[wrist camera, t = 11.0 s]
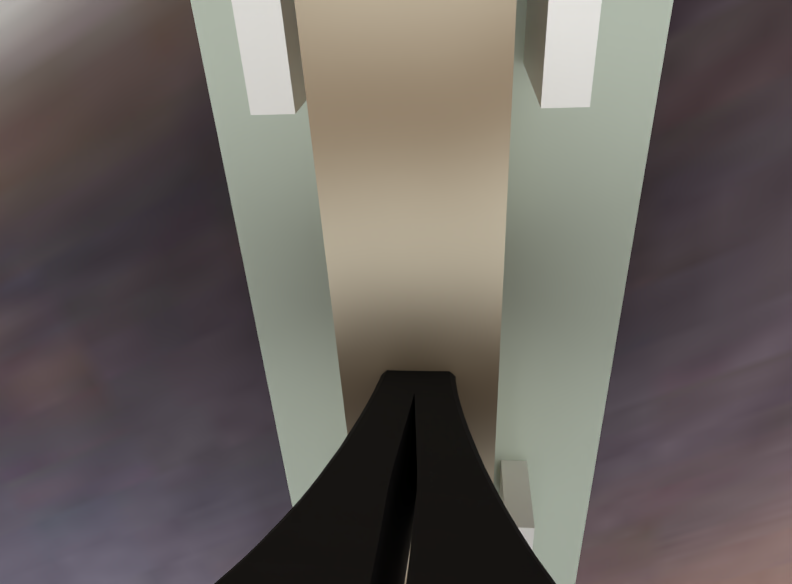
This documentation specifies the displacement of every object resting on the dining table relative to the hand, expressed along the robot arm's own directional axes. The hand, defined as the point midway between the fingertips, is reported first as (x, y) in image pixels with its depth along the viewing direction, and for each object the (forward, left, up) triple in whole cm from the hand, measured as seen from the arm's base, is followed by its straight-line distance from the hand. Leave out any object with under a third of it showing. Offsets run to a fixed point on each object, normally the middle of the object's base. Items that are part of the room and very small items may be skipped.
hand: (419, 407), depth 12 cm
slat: (0, 0, -5) cm, 5 cm away
